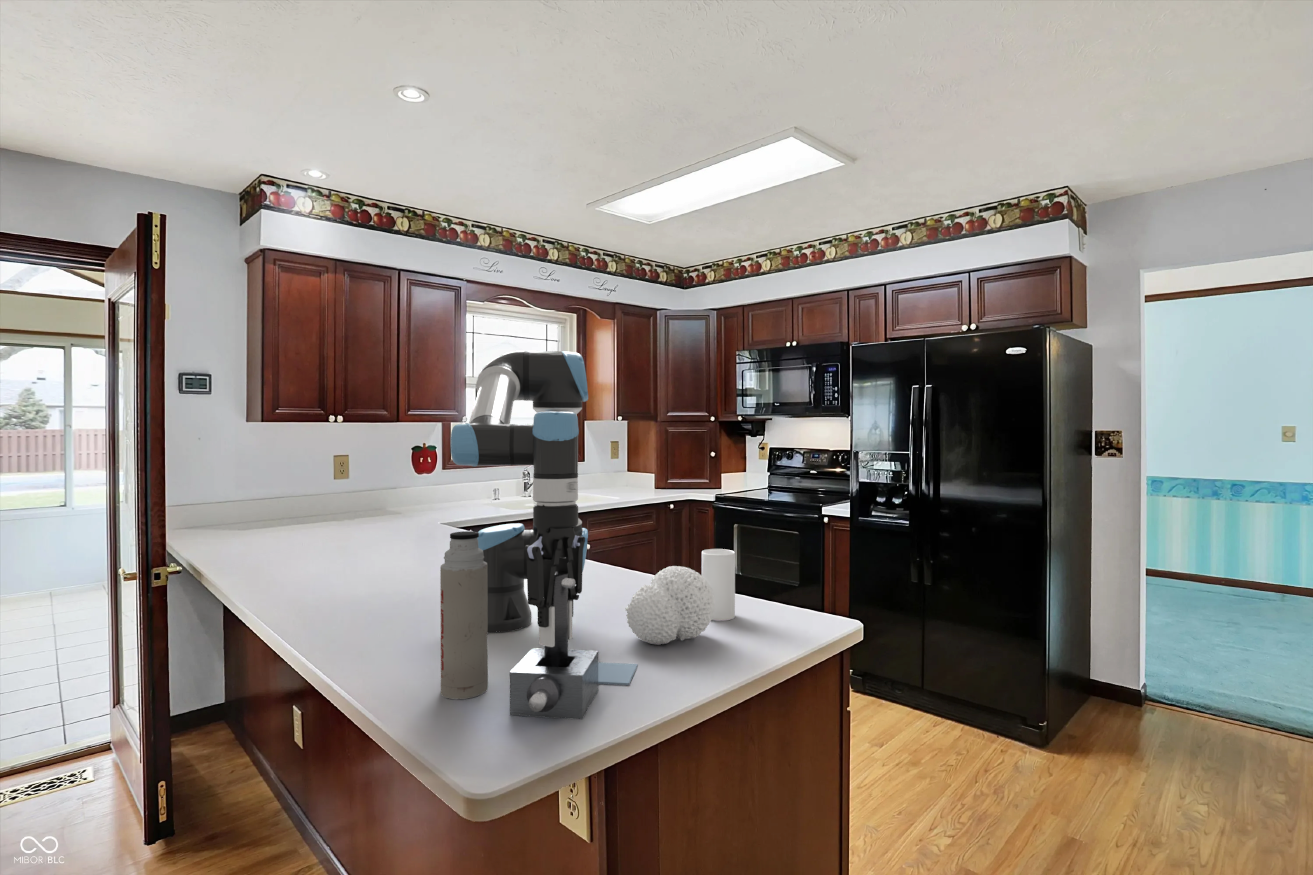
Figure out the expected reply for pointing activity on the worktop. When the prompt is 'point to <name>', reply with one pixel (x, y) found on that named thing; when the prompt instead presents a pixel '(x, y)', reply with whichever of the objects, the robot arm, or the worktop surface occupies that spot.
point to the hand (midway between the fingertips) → (555, 641)
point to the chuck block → (554, 685)
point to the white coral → (671, 606)
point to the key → (559, 622)
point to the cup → (720, 581)
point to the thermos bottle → (464, 618)
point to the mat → (615, 673)
